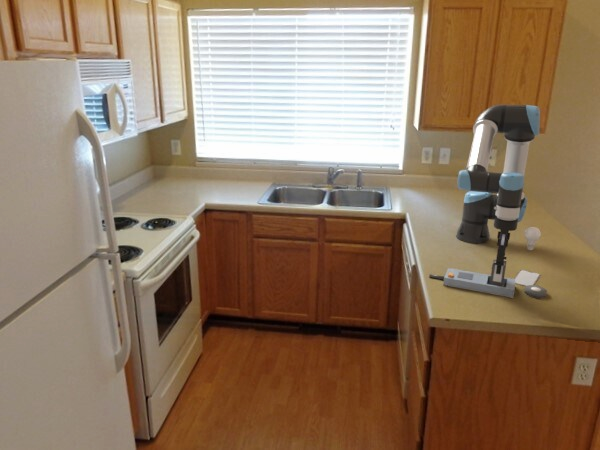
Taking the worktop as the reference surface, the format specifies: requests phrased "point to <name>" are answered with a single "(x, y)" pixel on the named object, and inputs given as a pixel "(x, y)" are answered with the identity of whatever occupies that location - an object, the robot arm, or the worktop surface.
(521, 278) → the smartphone
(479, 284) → the power strip
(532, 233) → the lightbulb
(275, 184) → the worktop surface
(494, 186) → the robot arm
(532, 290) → the grey disc with dome
